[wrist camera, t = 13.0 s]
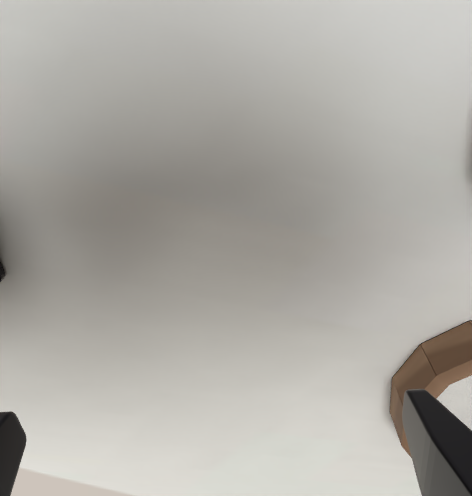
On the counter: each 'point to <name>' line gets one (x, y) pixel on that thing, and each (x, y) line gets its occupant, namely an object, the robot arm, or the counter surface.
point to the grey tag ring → (432, 370)
